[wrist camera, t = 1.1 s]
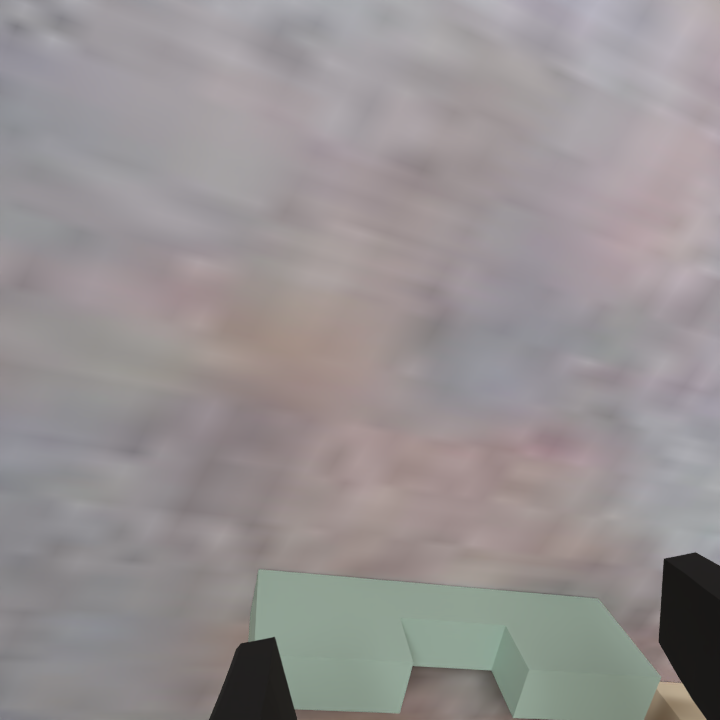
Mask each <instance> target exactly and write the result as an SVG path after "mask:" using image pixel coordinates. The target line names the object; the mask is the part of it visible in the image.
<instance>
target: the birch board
mask: <svg viewBox="0 0 720 720" xmlns="http://www.w3.org/2000/svg"><path fill="white" fill-rule="evenodd" d="M644 720H707V719H706V718H705V717H704V715H703V714H702V712H701V711H700V710H699V708H698V707H697V705H696V704H695V703H694V701H693V700H692V698H691V697H690V695H689V693H688V692H687V690H686V688H685V687H684V685H683V683H672V682H659V684H658V687H657V689H656V691H655V694H654V696H653V699H652V701H651V704H650V706H649V709H648V711H647V714H646V716H645V718H644Z"/></svg>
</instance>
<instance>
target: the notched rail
mask: <svg viewBox="0 0 720 720" xmlns="http://www.w3.org/2000/svg"><path fill="white" fill-rule="evenodd" d="M271 637H275V639H276V642H277V646H278V650H279V654H280V657H281V661H282V665H283V668H284V672H285V676H286V680H287V683H288V687H289V691H290V694H291V698H292V702H293V706H294V709H302V710H327V711H352V712H377V713H400V710H401V706H402V703H403V699H404V695H405V692H406V688H407V684H408V681H409V677H410V674H411V670H412V666H423V667H441V668H458V669H476V670H491V671H492V673H493V675H494V677H495V679H496V682H497V684H498V686H499V688H500V690H501V693H502V695H503V697H504V699H505V702H506V704H507V706H508V708H509V710H510V713H511V715H512V717H513V718H527V719H552V720H644V718H645V716H646V714H647V711H648V709H649V706H650V704H651V701H652V699H653V696H654V694H655V691H656V689H657V687H658V684H659V682H660V679H661V676H660V675H659V674H658V673H657V671H656V670H655V669H654V668H653V666H652V665H651V664H650V663H649V661H648V660H647V659H646V658H645V656H644V655H643V654H642V653H641V651H640V650H639V649H638V648H637V646H636V645H635V644H634V643H633V641H632V640H631V639H630V638H629V637H628V635H627V634H626V633H625V632H624V630H623V629H622V628H621V627H620V625H619V624H618V623H617V622H616V620H615V619H614V618H613V617H612V615H611V614H610V613H609V612H608V610H607V609H606V608H605V607H604V605H603V604H602V603H601V602H600V600H599V599H597V598H585V597H574V596H562V595H550V594H539V593H527V592H516V591H504V590H492V589H481V588H469V587H458V586H446V585H435V584H423V583H411V582H400V581H388V580H377V579H365V578H353V577H342V576H330V575H319V574H307V573H296V572H284V571H272V570H261V569H259V570H258V575H257V581H256V586H255V591H254V597H253V602H252V608H251V613H250V626H249V640H248V642H251V641H256V640H261V639H266V638H271Z"/></svg>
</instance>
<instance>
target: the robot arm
mask: <svg viewBox="0 0 720 720" xmlns="http://www.w3.org/2000/svg"><path fill="white" fill-rule="evenodd" d="M659 643H660V645H661V647H662V649H663V650H664V652H665V654H666V656H667V657H668V659H669V661H670V663H671V665H672V666H673V668H674V670H675V672H676V673H677V675H678V677H679V678H680V680H681V682H682V683H683V685H684V687H685V688H686V690H687V692H688V693H689V695H690V697H691V698H692V700H693V701H694V703H695V704H696V705H697V707H698V708H699V710H700V711H701V712H702V714H703V715H704V717H705V718H706V719H707V720H720V566H719V565H717V564H715V563H714V562H712V561H710V560H708V559H707V558H705V557H703V556H701V555H699V554H698V553H691V554H686V555H681V556H676V557H671V558H666V559H664V565H663V581H662V597H661V613H660V629H659ZM209 720H297V717H296V713H295V709H294V706H293V702H292V698H291V694H290V691H289V687H288V683H287V680H286V676H285V672H284V668H283V665H282V661H281V657H280V654H279V650H278V646H277V642H276V639H275V637H271V638H266V639H261V640H256V641H251V642H246V643H241V644H240V645H239V647H238V648H237V649H236V651H235V654H234V657H233V660H232V663H231V665H230V668H229V671H228V674H227V676H226V679H225V682H224V684H223V687H222V689H221V692H220V694H219V697H218V699H217V702H216V704H215V707H214V709H213V711H212V714H211V716H210V719H209Z"/></svg>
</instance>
